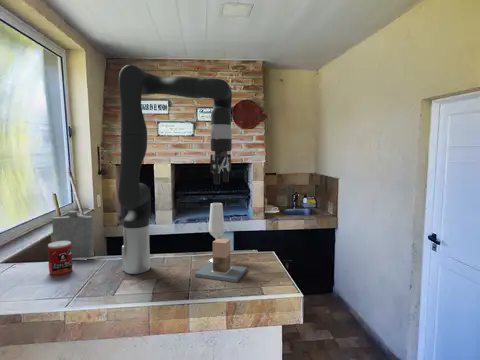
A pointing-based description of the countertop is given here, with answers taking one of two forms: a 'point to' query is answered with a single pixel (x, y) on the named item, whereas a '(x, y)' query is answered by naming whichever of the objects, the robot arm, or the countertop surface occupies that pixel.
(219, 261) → the walnut block
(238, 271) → the slate board
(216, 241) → the terracotta block
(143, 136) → the robot arm
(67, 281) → the countertop surface
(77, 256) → the hip flask
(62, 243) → the canned food
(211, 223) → the champagne flute
